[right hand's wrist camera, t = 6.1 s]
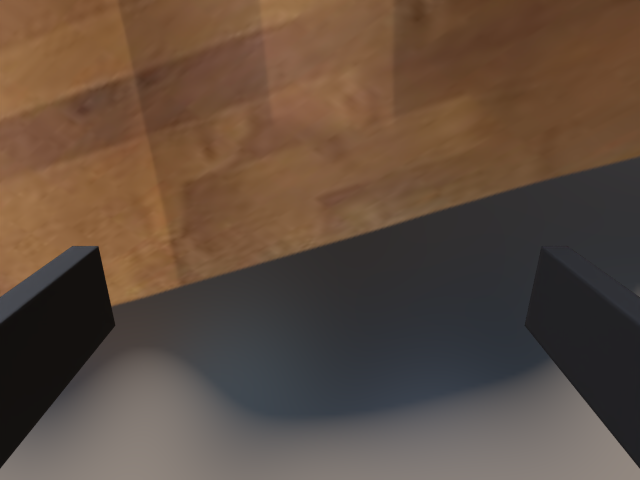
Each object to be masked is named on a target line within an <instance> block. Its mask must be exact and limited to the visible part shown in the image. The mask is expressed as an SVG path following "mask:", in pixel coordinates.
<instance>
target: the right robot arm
mask: <svg viewBox="0 0 640 480" xmlns="http://www.w3.org/2000/svg"><path fill="white" fill-rule="evenodd" d="M114 326H115V322H114V317H113V313H112V308H111V303H110V299H109V294H108V289H107V284H106V280H105V275H104V270H103V266H102V261H101V256H100V252H99V247H98V246H72V247H71V248H69V249H68V250H66V251H65V252H63V253H62V254H61V255H59V256H58V257H56V258H55V259H54V260H52V261H51V262H49V263H48V264H47V265H45V266H44V267H42V268H41V269H39V270H38V271H37V272H35V273H34V274H32V275H31V276H30V277H28V278H27V279H25V280H24V281H22V282H21V283H20V284H18V285H17V286H15V287H14V288H13V289H11V290H10V291H8V292H7V293H6V294H4V295H3V296H1V297H0V468H1V467H2V466H3V464H4V463H5V462H6V461H7V459H8V458H9V457H10V456H11V454H12V453H13V452H14V451H15V449H16V448H17V447H18V446H19V445H20V443H21V442H22V441H23V440H24V438H25V437H26V436H27V435H28V433H29V432H30V431H31V430H32V428H33V427H34V426H35V425H36V423H37V422H38V421H39V420H40V418H41V417H42V416H43V415H44V413H45V412H46V411H47V410H48V408H49V407H50V406H51V405H52V403H53V402H54V401H55V400H56V399H57V397H58V396H59V395H60V394H61V392H62V391H63V390H64V389H65V387H66V386H67V385H68V384H69V382H70V381H71V380H72V379H73V377H74V376H75V375H76V374H77V372H78V371H79V370H80V369H81V367H82V366H83V365H84V364H85V362H86V361H87V360H88V359H89V358H90V356H91V355H92V354H93V353H94V351H95V350H96V349H97V348H98V346H99V345H100V344H101V343H102V341H103V340H104V339H105V338H106V336H107V335H108V334H109V333H110V331H111V330H112V329H113V328H114ZM525 326H526V328H527V329H528V330H529V331H530V333H531V334H532V335H533V336H534V338H535V339H536V340H537V341H538V343H539V344H540V345H541V346H542V348H543V349H544V350H545V351H546V353H547V354H548V355H549V356H550V357H551V359H552V360H553V361H554V362H555V364H556V365H557V366H558V367H559V369H560V370H561V371H562V372H563V374H564V375H565V376H566V377H567V379H568V380H569V381H570V382H571V384H572V385H573V386H574V387H575V389H576V390H577V391H578V392H579V394H580V395H581V396H582V397H583V399H584V400H585V401H586V402H587V403H588V405H589V406H590V407H591V408H592V410H593V411H594V412H595V413H596V415H597V416H598V417H599V418H600V420H601V421H602V422H603V423H604V425H605V426H606V427H607V428H608V430H609V431H610V432H611V433H612V434H613V436H614V437H615V438H616V440H617V441H618V442H619V443H620V445H621V446H622V447H623V448H624V449H625V451H626V452H627V453H628V454H629V456H630V457H631V458H632V459H633V461H634V462H635V463H636V464H637V466H638V467H639V468H640V297H639V296H637V295H636V294H634V293H633V292H632V291H630V290H629V289H627V288H626V287H625V286H623V285H622V284H620V283H619V282H618V281H616V280H615V279H613V278H612V277H610V276H609V275H608V274H606V273H605V272H603V271H602V270H600V269H599V268H598V267H596V266H595V265H593V264H592V263H591V262H589V261H588V260H586V259H585V258H584V257H582V256H581V255H579V254H578V253H577V252H575V251H574V250H572V249H571V248H569V247H568V246H542V247H541V252H540V257H539V261H538V266H537V270H536V275H535V280H534V285H533V289H532V294H531V299H530V303H529V308H528V313H527V317H526V322H525Z"/></svg>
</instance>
